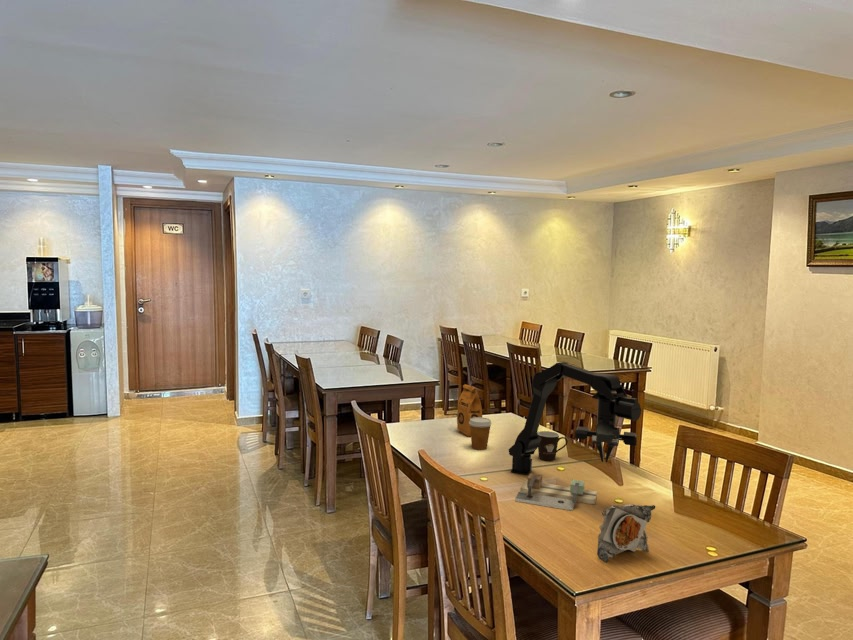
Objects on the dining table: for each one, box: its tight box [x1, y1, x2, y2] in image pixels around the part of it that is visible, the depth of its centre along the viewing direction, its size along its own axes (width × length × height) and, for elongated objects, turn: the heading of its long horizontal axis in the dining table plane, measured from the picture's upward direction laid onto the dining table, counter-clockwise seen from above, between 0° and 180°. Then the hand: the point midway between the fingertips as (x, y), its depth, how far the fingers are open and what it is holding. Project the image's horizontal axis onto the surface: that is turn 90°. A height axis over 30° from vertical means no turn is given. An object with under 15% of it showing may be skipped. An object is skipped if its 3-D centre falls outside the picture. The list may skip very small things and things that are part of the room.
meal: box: [596, 503, 656, 564], centre depth 146 cm, size 15×4×13 cm, turn 113°
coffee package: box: [456, 383, 483, 438], centre depth 256 cm, size 10×12×22 cm
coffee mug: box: [537, 430, 569, 462], centre depth 223 cm, size 12×9×10 cm
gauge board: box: [519, 472, 598, 505], centre depth 184 cm, size 24×14×5 cm, turn 69°
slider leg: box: [569, 479, 586, 504], centre depth 181 cm, size 4×12×3 cm, turn 159°
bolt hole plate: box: [514, 491, 576, 512], centre depth 180 cm, size 18×6×1 cm, turn 69°
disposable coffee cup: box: [469, 416, 492, 451], centre depth 235 cm, size 10×10×12 cm
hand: (604, 461), depth 181 cm, fingers closed
